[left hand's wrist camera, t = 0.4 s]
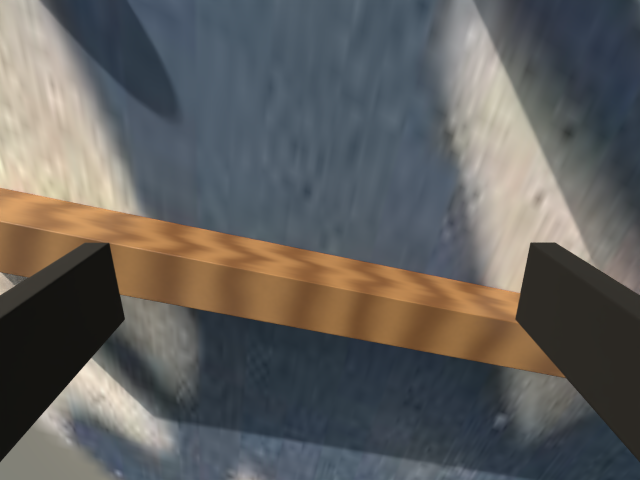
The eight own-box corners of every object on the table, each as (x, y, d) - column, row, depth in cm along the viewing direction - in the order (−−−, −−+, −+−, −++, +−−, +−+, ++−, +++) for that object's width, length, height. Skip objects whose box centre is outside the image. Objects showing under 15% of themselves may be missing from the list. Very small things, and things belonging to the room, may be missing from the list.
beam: (-54, 221, 40) (-131, 248, 33) (-60, 175, 38) (-142, 193, 31) (609, 350, 45) (660, 396, 39) (630, 315, 44) (687, 356, 37)
